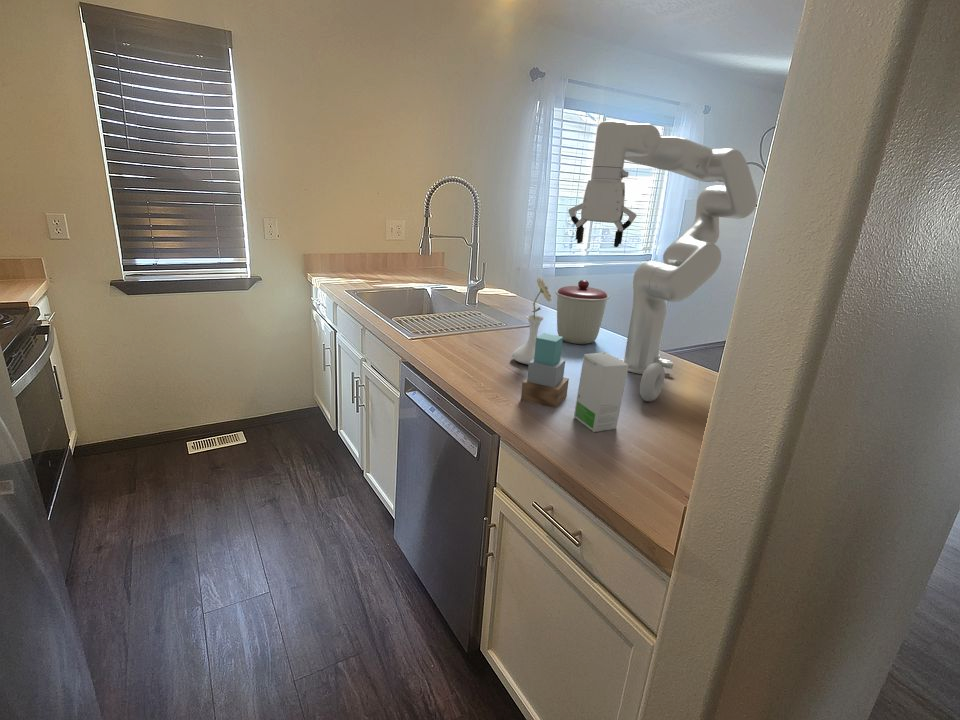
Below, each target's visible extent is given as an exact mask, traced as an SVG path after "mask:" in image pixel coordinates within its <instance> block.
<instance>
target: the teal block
mask: <svg viewBox="0 0 960 720" xmlns="http://www.w3.org/2000/svg"><path fill="white" fill-rule="evenodd" d="M563 341H564V340H563V337H561V336H559V335H555V334H550V333H544V332H543V333H542V334H540V335H539V336H538V335H537V338H536V345H535V355H534V362H539V363H543V364H548V365H552V366H554V365H555V364H556V363H558V362H559V361H560V360H561V359H562V351H563Z"/></svg>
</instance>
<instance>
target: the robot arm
mask: <svg viewBox="0 0 960 720" xmlns="http://www.w3.org/2000/svg"><path fill="white" fill-rule="evenodd" d="M660 134H661V133H660V131H659V129H658V128H657V127H656V126H654V124H653V125H652V123H651V124H650V123H645V122H644V123H643V122H642V123H626V122H624V121H619V120H618V121H617V120H605V121H601V122H600V123H599V124H598V126H597V129H596V137H595V146H594V153H593V161H592V168H591V170H592V171H591V178H590V179H589V180H588V181H587V183H586V187H585V191H584V195H583V199H582V203H579V204H578V205H575V206H573V207H570V208H569V209H568V214H569V216H570V220H571V221H572V223H573V224H574V225H575V227H576V231H575V240H576V243H577V244H582V243H583V241H584V232H585V227H584V225H585V224H586V223H587V222H599V223H611V224H612V223H614V225H615V227H616V228H617V230H616V231H615V236H614V243H613V247H614V248H618V247H619V245H621V244H622V242H623V235H624V231H625V230H627V228H629V227H630V226H631V225H632V223H633V222H634V221H635V219H636V218H637V217H638V216H637V214H636V213H635V212H633V211H632V209H631V210H630V209H629V208H627V207H626V206H625V199H626V198H625V194H626V191H625V190H626V186H625V182H624V181H623V182H622V180H623V179H624V178H628V177H629V171H626V170H625V169H624V165H625V161H628V162H630V163H635V164H637V165H642V166H646V167H651V168H654V169H656V170H657V169H658V170H662V171H666V172H671V173H675V174H677V175H680V176H684V177H687V178H689V179H692V180H695V181H699V182H703V183H723V184H724V185H710V186H707V187H706V188H704V189H703V190H702V191H700V193H699V194H698V197H697V200H696V208H695V216H694V221H693V222H692V224H691V226H690V225H689V226H690V227H688V228H687V229H686V230H685V231H684V232H683V233H682V234H681V235H679V236H678V237H677V238H676V239H675V240H674V241H673V242H672V243H671V244H669V246H667V248H666V249H665V250H664V253H663V255H662V260H663V262H661V261H655V260H654V261H653V260H652V261H645V262H643V263H641V264H640V265H639V266H638V267H637V268H636V270H635V271H634V272H633V273H634V274H633V277H632V278H633V280H632V288H633V290H632V291H633V298H632V299H633V301H632V307H631V309H632V310H631V315H630V319H629V321H630V322H629V327H628V334H627V338H626V339H627V341H626V345H625V350H624V351H625V353H624V357H623V358H619V360H621V361H623V362H624V363H626V364H628V365H629V367H628V372H630V373H633V374H637V375H638V374H639V375H643V373H644V371H645V370H646V368H647V367H648V366H649V365H650V364H652V363H659V364H660V365H661V366H663V368H665V369H671V370H673V367H674V362H672V361H670V360H671V359H669V360H668V359H663V358H662V357H661V354H660V350H661V349H660V348H661V344H662V339H663V333H664V332H663V331H664V327H665V323H666V322H665V321H666V317H667V305H666V302H671V303H680V302H681V303H682V302H683V301H684V300H685V301H686V300H687V299H688V298H689V297H690V296H692V295H693V294H694V293H695V292H696V291H697V290H698V289H699V288H701V287H702V286H703V285H704V284H705V283H706V282H708V280H710V278H712V276H714V275H715V273H716V272H717V271H718V269H719V267H720V265H721V262H722V252H721V250H720V248H719V246H718V245H717V244H716V243H717V242H718V240H719V238H720V218H726V219H735V220H739V219H745V218H747V217H749V216H751V215H752V213H754V211H755V209H756V206H757V201H758V199H757V198H758V196H757V191H756V186H755V184H754V181H753V178H752V174H751V171H750V168H749V165H748V162H747V160H746V158H745V156H744V155H743V153H742V151H740V150H739V149H737V148H711V147H709V146H706V145H703V144H700V143H698V142H695V141H692V140H690V139H687V138H686V137H678V136H661V135H660ZM578 211H580V216H581V217H580V219H579V218H578V217H577V215H576V213H577V212H578ZM624 214H625V215H626V216H628V218H627V220H626V221H625V222H624V223H623V222H622V220H623V216H624Z"/></svg>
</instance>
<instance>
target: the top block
mask: <svg viewBox="0 0 960 720" xmlns="http://www.w3.org/2000/svg"><path fill="white" fill-rule="evenodd" d="M527 365H528V364H527ZM565 365H566V359H562V358H561V360H560V361H559V362H558V363H556V364H555V365H554V366H552V365H548V364H543V363H539V362H534V359H532V360H531V361H530V362H529V365H528V367H527V368H528V369H527V375H526V379H527V382H531V383H535V384H540V385H544V386H549V387H553V388H555V387H556V386H557V385H558V384H559V383H560V382H561V381H562V380H563V377H564V375H565Z"/></svg>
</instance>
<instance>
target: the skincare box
mask: <svg viewBox="0 0 960 720" xmlns="http://www.w3.org/2000/svg"><path fill="white" fill-rule="evenodd" d="M581 365H582V366H581V371H580V376H579V377H580V378H579V384H578V389H577V396H576V400H575V407H574V414H573V417H574V419H576V420H577V421H578V422H580V423H581V424H582V425H584V426H585V427H587V428H588V429H589V430H592V432H593V433H598V432H605V431H610V430H611V429H612V430H616V429H617V426H618V422H619V416H620V411H621V407H622V406H621V405H622V400H623V397H624V392H625V386H626V382H627V377H628V372H629V371H628V367H629V365H628V364H626V363H624V362H623V361H621V360H620V358H619V357H616V356H614V355H612V354H610V353H608V352H606V351H605V352H593V353H592V352H591V353H584V354H583V360H582V364H581ZM604 430H605V431H604Z"/></svg>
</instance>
